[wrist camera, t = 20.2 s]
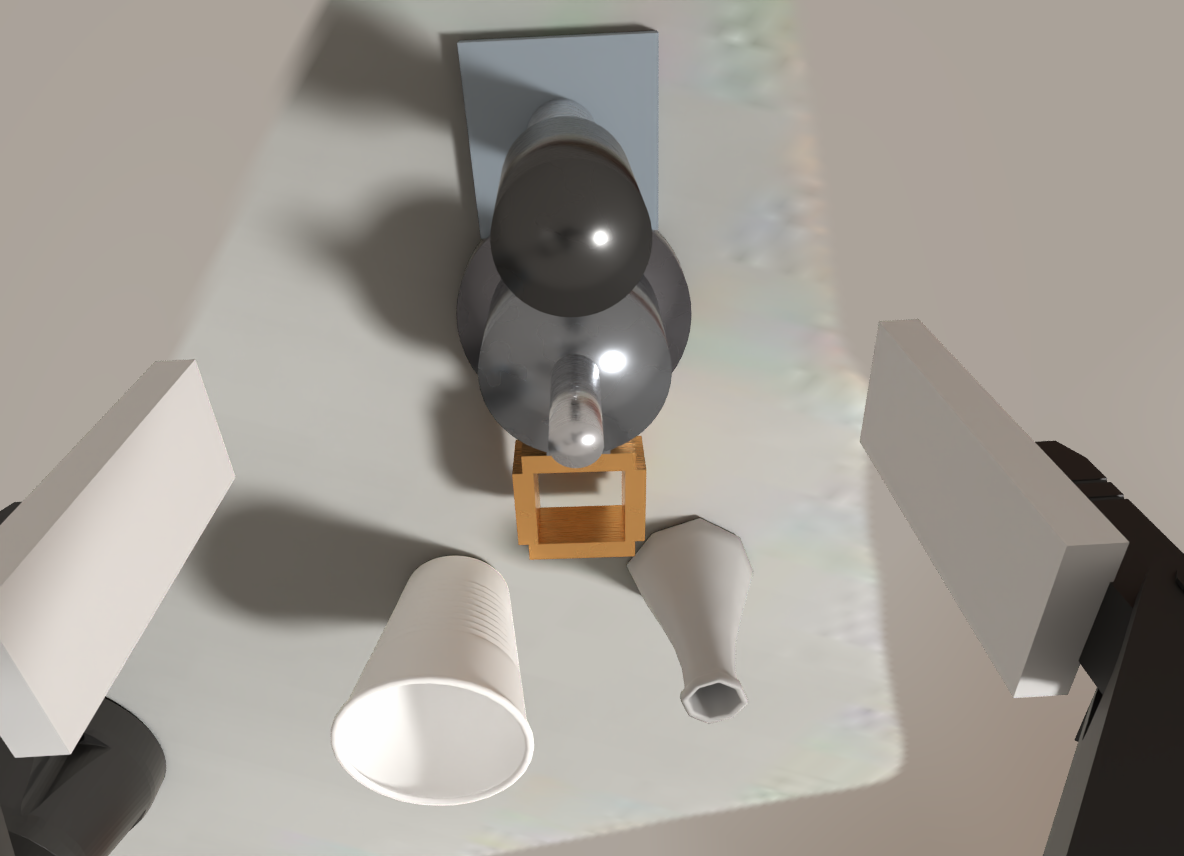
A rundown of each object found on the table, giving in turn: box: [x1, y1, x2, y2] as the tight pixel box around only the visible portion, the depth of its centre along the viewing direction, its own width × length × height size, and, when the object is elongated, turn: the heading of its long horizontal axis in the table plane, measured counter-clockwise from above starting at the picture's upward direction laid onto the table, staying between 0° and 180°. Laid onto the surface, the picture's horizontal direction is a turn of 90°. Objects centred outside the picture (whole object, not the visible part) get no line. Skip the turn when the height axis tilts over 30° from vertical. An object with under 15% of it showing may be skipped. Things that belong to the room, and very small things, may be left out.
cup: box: [331, 556, 534, 806], centre depth 44 cm, size 10×10×11 cm
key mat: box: [457, 31, 658, 239], centre depth 34 cm, size 8×8×1 cm
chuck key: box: [490, 99, 652, 317], centre depth 28 cm, size 4×4×14 cm
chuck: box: [478, 274, 672, 560], centre depth 35 cm, size 16×8×10 cm, turn 1°
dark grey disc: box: [457, 230, 691, 375], centre depth 38 cm, size 11×11×2 cm
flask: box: [626, 518, 753, 724], centre depth 44 cm, size 7×7×10 cm
